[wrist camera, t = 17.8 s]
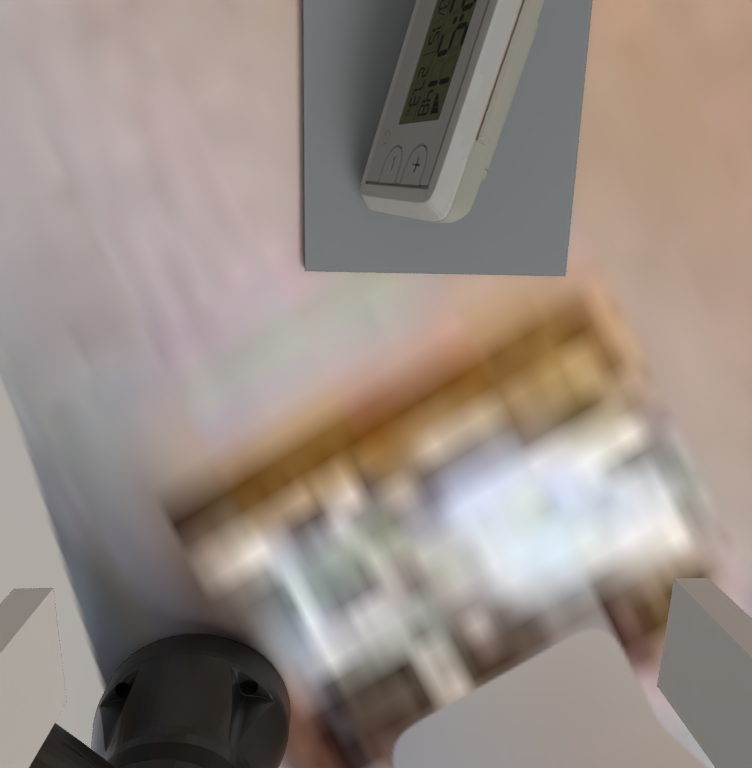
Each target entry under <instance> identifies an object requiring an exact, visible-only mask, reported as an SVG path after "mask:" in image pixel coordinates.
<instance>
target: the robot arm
mask: <svg viewBox="0 0 752 768" xmlns="http://www.w3.org/2000/svg"><path fill="white" fill-rule="evenodd" d="M657 686H658V688H659V689H660V690H661V692H662V693H663V695H664V696H665V698H666V699H667V700H668V702H669V703H670V705H671V706H672V707H673V709H674V710H675V712H676V713H677V714H678V716H679V717H680V719H681V720H682V721H683V723H684V724H685V726H686V727H687V728H688V730H689V731H690V733H691V734H692V735H693V737H694V738H695V740H696V741H697V742H698V744H699V745H700V747H701V748H702V749H703V751H704V752H705V754H706V755H707V757H708V758H709V759H710V761H711V762H712V764H713V765H714V766H715V768H752V618H751V617H750V616H749V615H747V614H746V613H745V612H744V611H743V610H742V609H741V608H740V607H739V606H738V605H737V604H736V603H734V602H733V601H732V600H731V599H730V598H729V597H728V596H727V595H726V594H725V593H724V592H723V591H721V590H720V589H719V588H718V587H717V586H716V585H715V584H714V583H713V582H712V581H711V580H709V579H708V578H686V579H674V584H673V590H672V597H671V603H670V609H669V615H668V621H667V628H666V634H665V640H664V646H663V652H662V659H661V665H660V671H659V677H658V683H657ZM66 703H67V698H66V690H65V682H64V673H63V665H62V657H61V649H60V640H59V632H58V624H57V616H56V607H55V600H54V591H53V588H39V589H38V588H36V589H14V590H13V591H12V592H11V593H10V594H9V595H8V596H7V597H6V598H5V599H4V601H3V602H2V603H1V604H0V768H278V767H279V765H280V763H281V761H282V759H283V756H284V753H285V750H286V747H287V742H288V734H289V725H290V702H289V697H288V694H287V691H286V688H285V686H284V683H283V682H282V680H281V678H280V676H279V675H278V673H277V672H276V671H275V670H274V668H273V667H272V666H271V665H270V664H269V663H268V662H267V661H266V660H265V659H264V658H263V657H261V656H260V655H259V654H257V653H256V652H254V651H253V650H251V649H249V648H248V647H246V646H244V645H242V644H239V643H237V642H235V641H232V640H229V639H225V638H221V637H217V636H210V635H195V634H193V635H180V636H174V637H169V638H166V639H162V640H159V641H156V642H154V643H151V644H149V645H147V646H145V647H143V648H142V649H140V650H138V651H137V652H135V653H134V654H133V655H131V656H130V657H129V658H128V659H127V660H126V661H124V662H123V664H122V665H121V666H120V667H119V668H118V669H117V671H116V672H115V673H114V675H113V677H112V678H111V680H110V682H109V684H108V686H107V688H106V690H105V692H104V694H103V696H102V698H101V700H100V702H99V704H98V707H97V711H96V714H95V718H94V723H93V732H92V743H91V749H90V748H89V747H87V746H86V745H85V744H84V743H82V742H81V741H79V740H78V739H77V738H75V737H74V736H73V735H71V734H69V733H68V732H67V731H66V730H64V729H63V728H62V727H60V726H59V725H58V724H56V723H55V722H56V720H57V718H58V717H59V715H60V713H61V712H62V710H63V708H64V706H65V705H66Z"/></svg>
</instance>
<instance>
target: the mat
mask: <svg viewBox="0 0 752 768" xmlns="http://www.w3.org/2000/svg"><path fill="white" fill-rule="evenodd" d="M415 3H416V0H303V23H304V191H305V271H325V272H376V273H427V274H479V275H530V276H565V275H566V265H567V255H568V245H569V234H570V224H571V214H572V204H573V194H574V183H575V173H576V163H577V153H578V143H579V132H580V122H581V112H582V102H583V92H584V81H585V71H586V61H587V51H588V41H589V30H590V20H591V10H592V0H544V3H543V6H542V9H541V11H540V14H539V17H538V20H537V21H538V28H537V31H536V34H535V37H534V39H533V42H532V45H531V48H530V51H529V54H528V57H527V60H526V62H525V65H524V68H523V71H522V74H521V77H520V80H519V83H518V85H517V88H516V91H515V94H514V97H513V100H512V103H511V106H510V108H509V111H508V114H507V117H506V120H505V123H504V126H503V129H502V131H501V134H500V137H499V140H498V143H497V146H496V149H495V152H494V154H493V157H492V160H491V163H490V166H489V169H488V171H487V175H486V178H485V179H484V180H483V181H481V184H480V187H479V189H478V192H477V195H476V198H475V200H474V203H473V205H472V207H471V209H470V211H469V212H468V214H467V215H466V216H464V217H463V218H461V219H460V220H457V221H455V222H452V223H436V222H429V221H424V220H419V219H413V218H408V217H403V216H398V215H392V214H387V213H382V212H377V211H373V210H370V209H369V208H368V207H367V205H366V203H365V201H364V199H363V197H362V195H361V193H360V187H361V182H362V179H363V175H364V172H365V168H366V165H367V161H368V158H369V155H370V151H371V148H372V145H373V141H374V138H375V135H376V132H377V128H378V125H379V122H380V118H381V115H382V112H383V108H384V105H385V102H386V99H387V95H388V92H389V89H390V85H391V82H392V79H393V76H394V72H395V69H396V66H397V62H398V59H399V56H400V53H401V49H402V46H403V43H404V39H405V36H406V33H407V29H408V26H409V23H410V20H411V16H412V13H413V10H414V6H415Z"/></svg>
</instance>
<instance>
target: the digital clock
mask: <svg viewBox="0 0 752 768" xmlns="http://www.w3.org/2000/svg"><path fill="white" fill-rule="evenodd" d="M543 3H544V0H416V3H415V6H414V10H413V13H412V16H411V20H410V23H409V26H408V29H407V33H406V36H405V39H404V43H403V46H402V49H401V53H400V56H399V59H398V62H397V66H396V69H395V72H394V76H393V79H392V82H391V85H390V89H389V92H388V95H387V99H386V102H385V105H384V108H383V112H382V115H381V118H380V122H379V125H378V128H377V132H376V135H375V138H374V141H373V145H372V148H371V151H370V155H369V158H368V161H367V165H366V168H365V172H364V175H363V179H362V182H361V187H360V193H361V195H362V197H363V199H364V201H365V203H366V205H367V207H368V208H369V209H370V210H373V211H377V212H382V213H387V214H392V215H398V216H403V217H408V218H413V219H419V220H424V221H429V222H436V223H452V222H455V221H457V220H460V219H461V218H463V217H464V216H466V215H467V214H468V212H469V211H470V209H471V207H472V205H473V203H474V200H475V198H476V195H477V192H478V189H479V187H480V184H481V181H483V180H484V179H485V178H486V175H487V171H488V169H489V166H490V163H491V160H492V157H493V154H494V152H495V149H496V146H497V143H498V140H499V137H500V134H501V131H502V129H503V126H504V123H505V120H506V117H507V114H508V111H509V108H510V106H511V103H512V100H513V97H514V94H515V91H516V88H517V85H518V83H519V80H520V77H521V74H522V71H523V68H524V65H525V62H526V60H527V57H528V54H529V51H530V48H531V45H532V42H533V39H534V37H535V34H536V31H537V28H538V21H537V20H538V17H539V14H540V11H541V9H542V6H543Z"/></svg>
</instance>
